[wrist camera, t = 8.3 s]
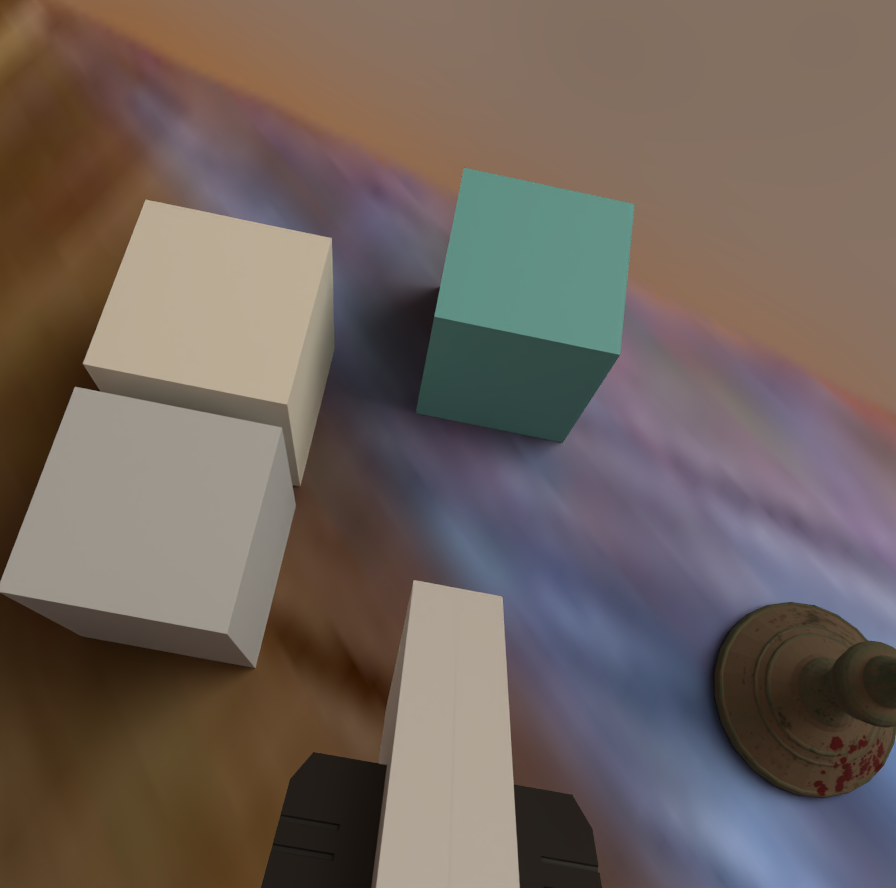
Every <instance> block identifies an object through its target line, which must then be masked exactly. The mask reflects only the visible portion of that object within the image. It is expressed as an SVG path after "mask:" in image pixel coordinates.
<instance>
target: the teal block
mask: <svg viewBox="0 0 896 888" xmlns="http://www.w3.org/2000/svg"><path fill="white" fill-rule="evenodd" d="M633 214H634V204H631V203H627V202H622V201H617V200H613V199H608V198H603V197H599V196H594V195H589V194H585V193H580V192H575V191H571V190H566V189H561V188H557V187H552V186H547V185H542V184H538V183H533V182H528V181H524V180H519V179H515V178H510V177H505V176H501V175H496V174H491V173H486V172H482V171H477V170H473V169H468V168H464V171H463V176H462V181H461V186H460V191H459V196H458V201H457V206H456V211H455V216H454V221H453V226H452V231H451V236H450V241H449V246H448V251H447V256H446V261H445V266H444V271H443V276H442V281H441V286H440V291H439V296H438V301H437V306H436V311H435V316H434V321H433V326H432V331H431V336H430V341H429V347H428V352H427V357H426V362H425V367H424V372H423V377H422V383H421V388H420V393H419V398H418V403H417V408H416V413H417V414H422V415H427V416H432V417H437V418H442V419H447V420H452V421H457V422H462V423H467V424H472V425H477V426H482V427H487V428H492V429H497V430H502V431H507V432H512V433H517V434H522V435H527V436H532V437H537V438H542V439H547V440H552V441H557V442H562V443H563V441H564V440H565V438H566V437H567V435H568V434H569V432H570V431H571V429H572V428H573V426H574V425H575V423H576V421H577V420H578V418H579V417H580V415H581V414H582V412H583V411H584V409H585V408H586V406H587V405H588V403H589V402H590V400H591V398H592V397H593V395H594V394H595V392H596V391H597V389H598V388H599V386H600V385H601V383H602V382H603V380H604V379H605V377H606V376H607V374H608V372H609V371H610V369H611V368H612V366H613V365H614V363H615V362H616V360H617V359H618V357H619V356H620V350H621V339H622V329H623V318H624V308H625V297H626V287H627V277H628V266H629V255H630V245H631V235H632V224H633Z"/></svg>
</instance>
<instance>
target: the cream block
mask: <svg viewBox="0 0 896 888" xmlns="http://www.w3.org/2000/svg"><path fill="white" fill-rule="evenodd" d="M334 350H335V342H334V304H333V267H332V238H328V237H323V236H318V235H313V234H308V233H304V232H299V231H294V230H289V229H284V228H280V227H275V226H270V225H265V224H260V223H256V222H251V221H246V220H241V219H236V218H232V217H227V216H222V215H217V214H212V213H208V212H203V211H198V210H193V209H188V208H184V207H179V206H174V205H169V204H164V203H160V202H155V201H150V200H145V203H144V205H143V208H142V211H141V213H140V216H139V219H138V221H137V224H136V226H135V229H134V232H133V234H132V237H131V239H130V242H129V245H128V247H127V250H126V252H125V255H124V258H123V260H122V263H121V265H120V268H119V271H118V273H117V276H116V279H115V281H114V284H113V286H112V289H111V292H110V294H109V297H108V299H107V302H106V305H105V307H104V310H103V312H102V315H101V318H100V320H99V323H98V325H97V328H96V331H95V333H94V336H93V339H92V341H91V344H90V346H89V349H88V352H87V354H86V357H85V359H84V362H83V365H84V367H85V368H86V370H87V371H88V373H89V374H90V376H91V378H92V379H93V381H94V382H95V384H96V385H97V387H98V388H99V390H100V392H105V393H110V394H115V395H120V396H125V397H130V398H135V399H140V400H145V401H150V402H155V403H160V404H165V405H170V406H175V407H181V408H186V409H191V410H196V411H201V412H206V413H211V414H216V415H221V416H226V417H231V418H236V419H241V420H246V421H251V422H257V423H262V424H267V425H272V426H277V427H282V430H283V436H284V441H285V447H286V453H287V458H288V464H289V470H290V475H291V481H292V485H294V486H299V487H300V486H301V482H302V478H303V474H304V470H305V466H306V462H307V458H308V454H309V450H310V446H311V442H312V438H313V434H314V430H315V426H316V422H317V418H318V414H319V410H320V406H321V402H322V398H323V394H324V390H325V386H326V382H327V378H328V374H329V370H330V366H331V362H332V358H333V354H334Z"/></svg>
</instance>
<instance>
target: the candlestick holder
mask: <svg viewBox="0 0 896 888" xmlns="http://www.w3.org/2000/svg"><path fill="white" fill-rule="evenodd" d="M714 685H715V701H716V705H717V708H718V712H719V716H720V720H721V724H722V725H723V727H724V729H725V731H726V733H727V735H728V737H729V739H730V741H731V743H732V745H733V747H734V748H735V749H736V751H737V752H738V753H739V754H740V755H741V757H742V758H743V759H744V760H745V761H746V762H747V764H748V765H749V766H750V767H751V768H752V769H753V770H754V771H756V772H757V773H758V774H760V775H761V776H762V777H764V778H765V779H766V780H768V781H769V782H770V783H772V784H773V785H775V786H777V787H780V788H782V789H784V790H787V791H789V792H792V793H794V794H796V795H801V796H809V797H818V798H826V797H831V796H836V795H842V794H847V793H849V792H851V791H853V790H855V789H856V788H858V787H860V786H862V785H864V784H865V783H867V782H869V781H870V780H871V779H872V778H873V777H874V775H875V774H876V773H877V772H878V771H879V770H880V769H881V768H882V767H883V766H884V764H885V762H886V760H887V758H888V756H889V753H890V751H891V749H892V747H893V745H894V741H895V735H896V649H895V648H893V647H891V646H889V645H887V644H884V643H881V642H875V641H868V640H867V639H866V638H865V637H864V636H863V635H862V634H861V633H860V631H859V630H858V629H857V628H855V627H854V626H852V625H851V624H850V623H848V622H847V621H845V620H844V619H843V618H841V617H840V616H838V615H837V614H834V613H832V612H830V611H827V610H825V609H822V608H820V607H817V606H815V605H808V604H801V603H794V602H788V603H780V604H773V605H767V606H764V607H762V608H760V609H758V610H756V611H754V612H752V613H750V614H747V615H746V616H745V617H744V618H743V619H742V620H741V621H740V622H739V623H738V624H737V625H736V626H735V627H733V628H732V629H731V631H730V633H729V635H728V636H727V638H726V640H725V642H724V643H723V645H722V647H721V648H720V651H719V655H718V660H717V664H716V668H715V672H714Z"/></svg>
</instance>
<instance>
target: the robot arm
mask: <svg viewBox="0 0 896 888" xmlns="http://www.w3.org/2000/svg"><path fill="white" fill-rule="evenodd" d="M261 888H602V886H601V879H600V873H598V861H597V855H596V849H595V843H594V837H593V831H592V828H591V826H590V824H589V823H588V821H587V819H586V817H585V816H584V814H583V812H582V811H581V809H580V807H579V806H578V804H577V802H576V801H575V799H574V797H573V795H570V794H564V793H559V792H553V791H547V790H541V789H536V788H530V787H524V786H518V785H514V784H513V767H512V750H511V733H510V716H509V700H508V683H507V666H506V649H505V632H504V616H503V599H502V597H501V596H496V595H491V594H485V593H480V592H475V591H469V590H464V589H458V588H453V587H448V586H442V585H437V584H432V583H426V582H421V581H415V580H414V581H413V586H412V591H411V595H410V600H409V605H408V609H407V614H406V619H405V623H404V628H403V633H402V637H401V642H400V647H399V651H398V656H397V661H396V665H395V670H394V675H393V679H392V684H391V689H390V693H389V698H388V703H387V707H386V713H385V720H384V727H383V735H382V742H381V749H380V756H379V763H372V762H367V761H361V760H355V759H350V758H344V757H338V756H332V755H327V754H321V753H315V752H313V754H312V755H311V756H310V757H309V758H308V759H307V760H306V762H305V763H304V764H303V765H302V766H301V767H300V769H299V770H298V771H297V772H296V773H295V774H294V775H293V777H292V778H291V779H290V782H289V786H288V789H287V793H286V797H285V801H284V804H283V808H282V812H281V816H280V820H279V823H278V827H277V830H276V834H275V838H274V842H273V846H272V850H271V853H270V856H269V860H268V864H267V868H266V871H265V875H264V879H263V883H262V886H261Z"/></svg>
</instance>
